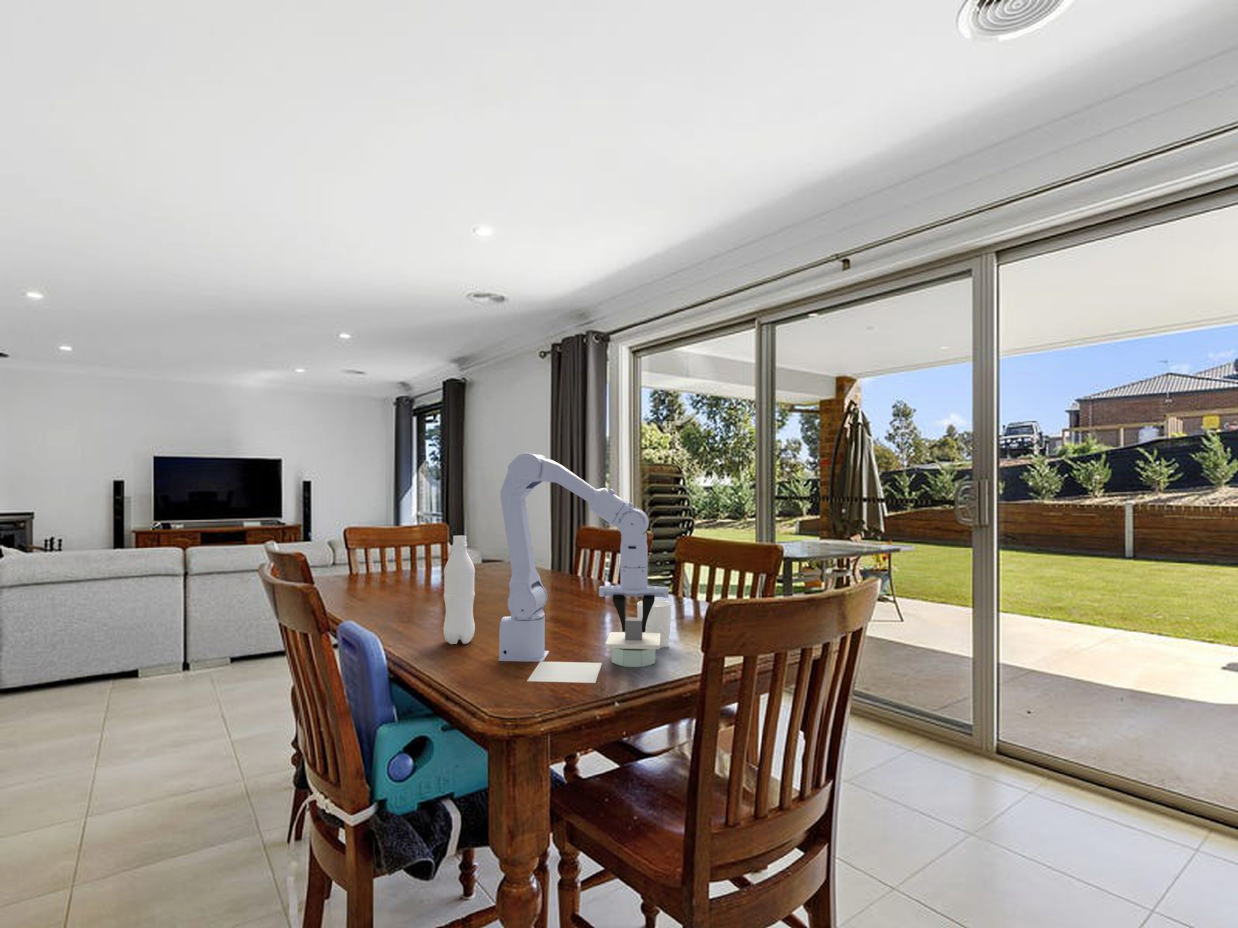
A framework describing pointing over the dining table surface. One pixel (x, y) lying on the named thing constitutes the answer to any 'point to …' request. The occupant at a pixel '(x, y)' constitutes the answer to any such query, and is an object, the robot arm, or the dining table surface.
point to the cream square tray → (566, 672)
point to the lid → (633, 637)
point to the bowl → (633, 657)
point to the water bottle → (459, 594)
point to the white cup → (658, 620)
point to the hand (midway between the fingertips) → (633, 631)
